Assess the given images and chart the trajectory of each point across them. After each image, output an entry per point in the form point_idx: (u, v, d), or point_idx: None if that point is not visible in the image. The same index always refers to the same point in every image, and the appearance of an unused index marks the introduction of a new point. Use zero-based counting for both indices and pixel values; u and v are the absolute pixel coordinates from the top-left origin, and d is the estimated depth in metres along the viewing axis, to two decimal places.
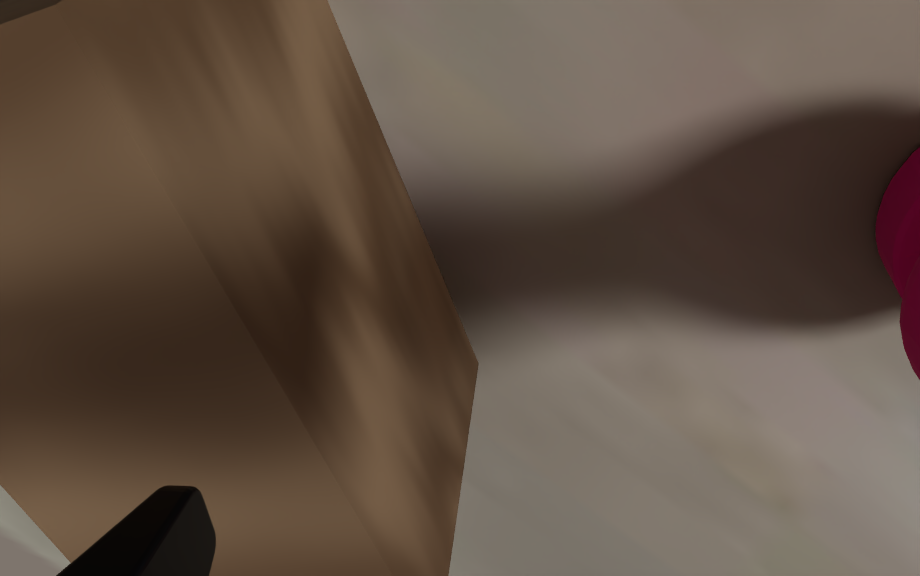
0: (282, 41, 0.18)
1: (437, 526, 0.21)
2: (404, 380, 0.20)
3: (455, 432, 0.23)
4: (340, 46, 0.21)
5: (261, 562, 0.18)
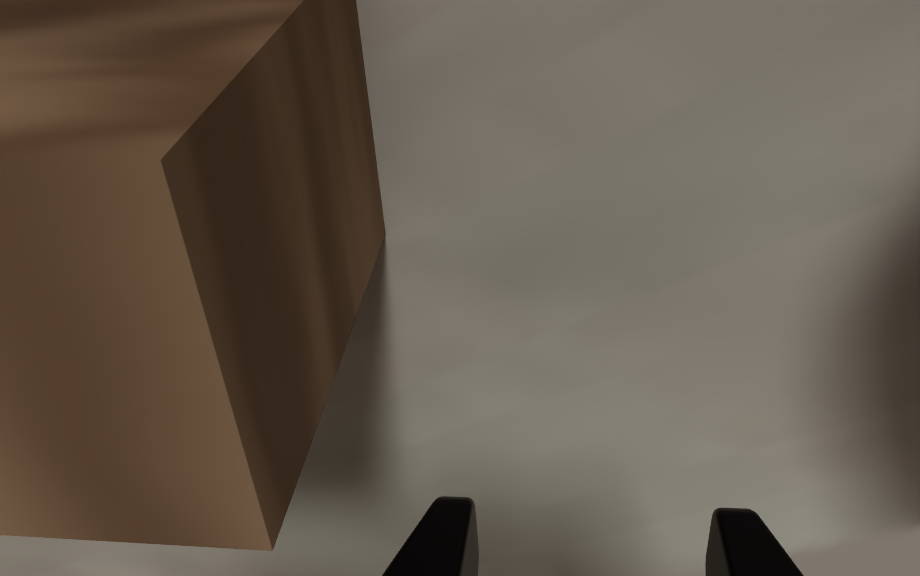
0: None
1: (166, 77, 0.12)
2: (32, 37, 0.14)
3: (250, 6, 0.15)
4: None
5: None
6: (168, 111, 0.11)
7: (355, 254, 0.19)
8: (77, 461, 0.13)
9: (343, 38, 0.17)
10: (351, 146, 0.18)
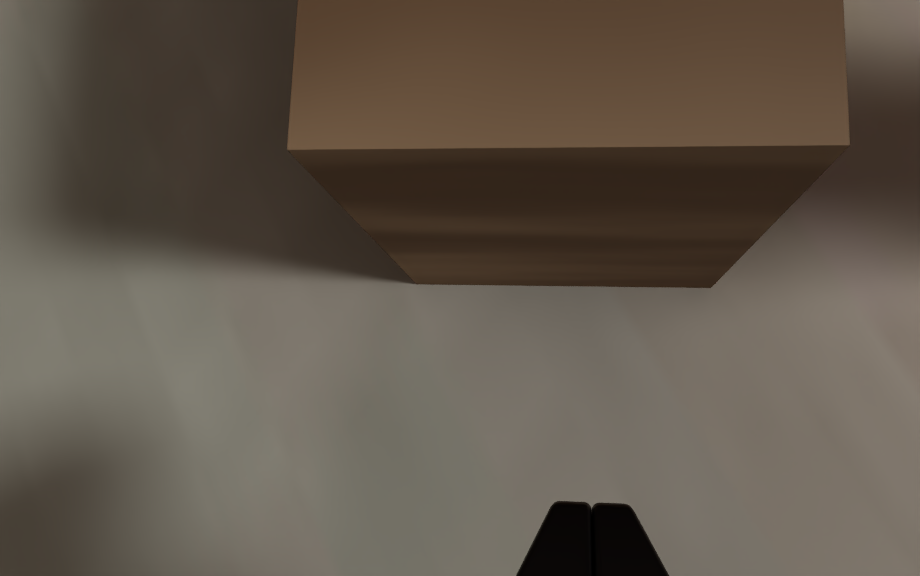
0: None
1: None
2: None
3: None
4: None
5: None
6: None
7: (450, 260, 0.18)
8: None
9: (655, 275, 0.19)
10: (555, 270, 0.18)
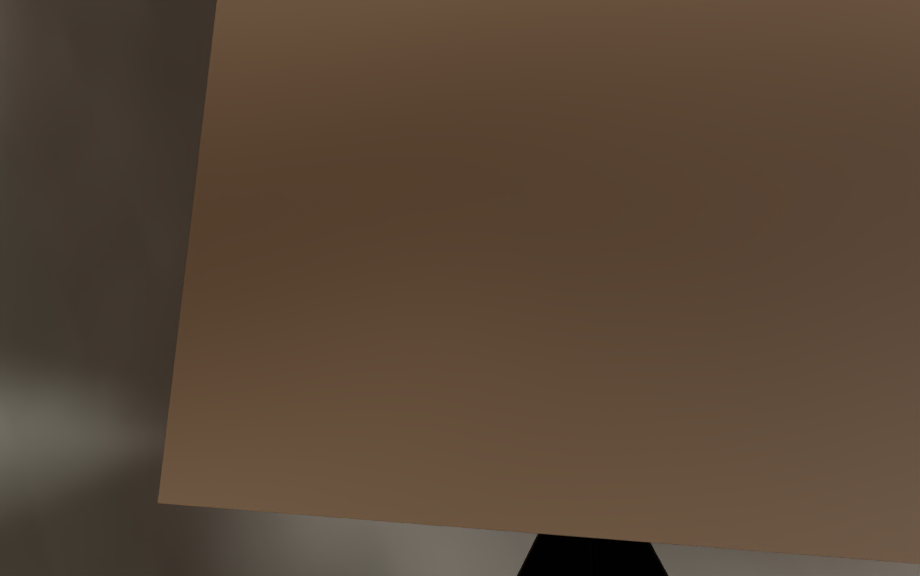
0: None
1: None
2: None
3: None
4: None
5: (757, 46, 0.06)
6: None
7: None
8: (430, 159, 0.07)
9: None
10: None
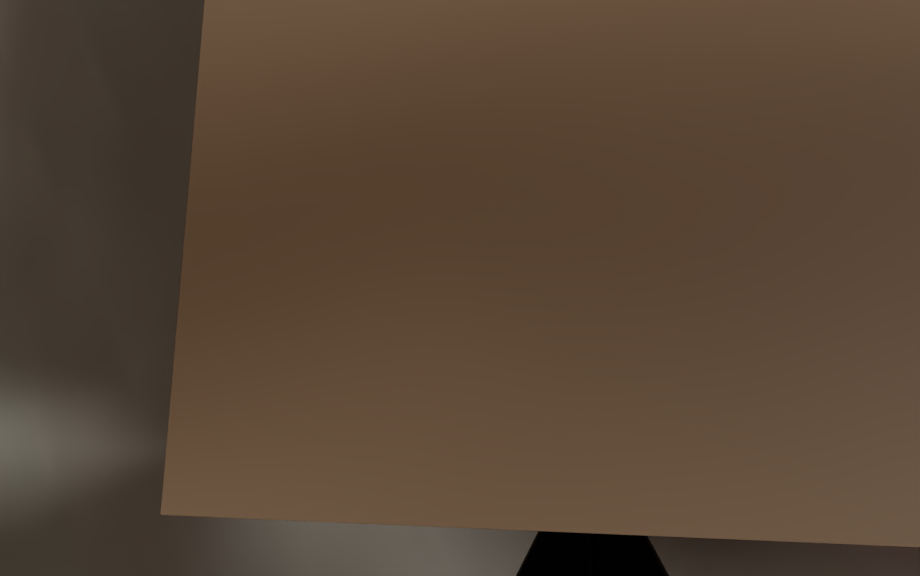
0: None
1: None
2: None
3: None
4: None
5: (730, 51, 0.07)
6: None
7: None
8: (416, 170, 0.07)
9: None
10: None
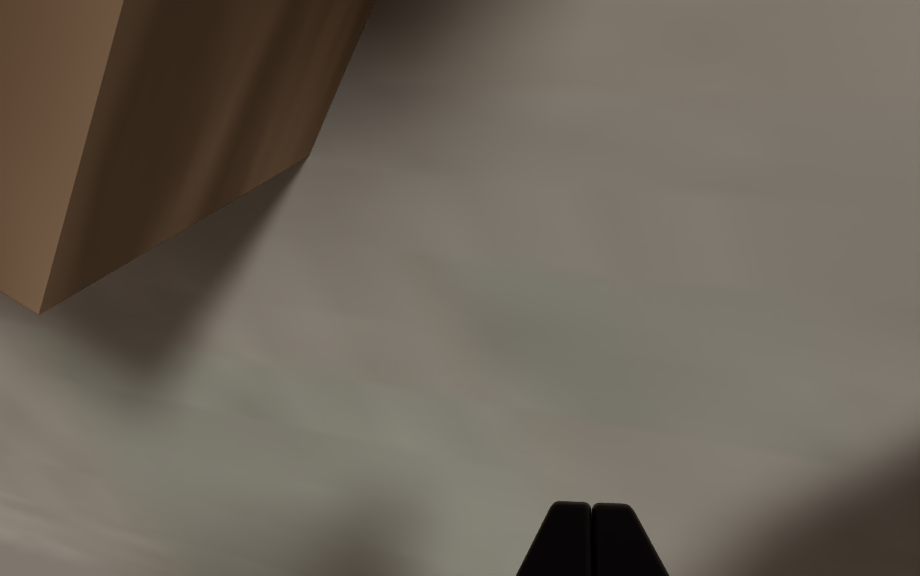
0: None
1: None
2: None
3: None
4: None
5: None
6: None
7: (272, 143, 0.19)
8: None
9: None
10: (324, 50, 0.19)
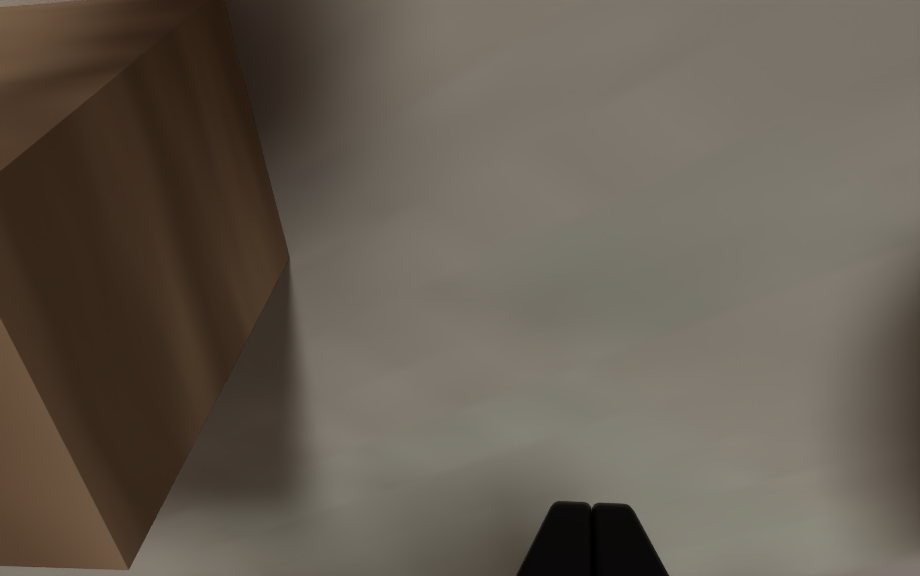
0: None
1: None
2: None
3: (101, 53, 0.16)
4: None
5: None
6: None
7: (243, 280, 0.20)
8: None
9: (215, 76, 0.18)
10: (232, 177, 0.19)
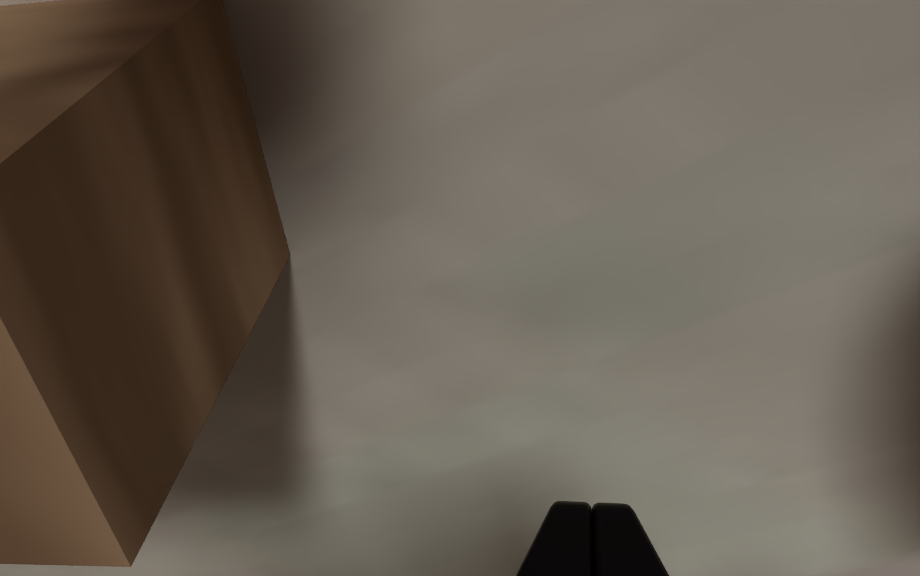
0: None
1: None
2: None
3: (98, 50, 0.16)
4: None
5: None
6: None
7: (243, 277, 0.19)
8: None
9: (213, 72, 0.18)
10: (231, 174, 0.19)
